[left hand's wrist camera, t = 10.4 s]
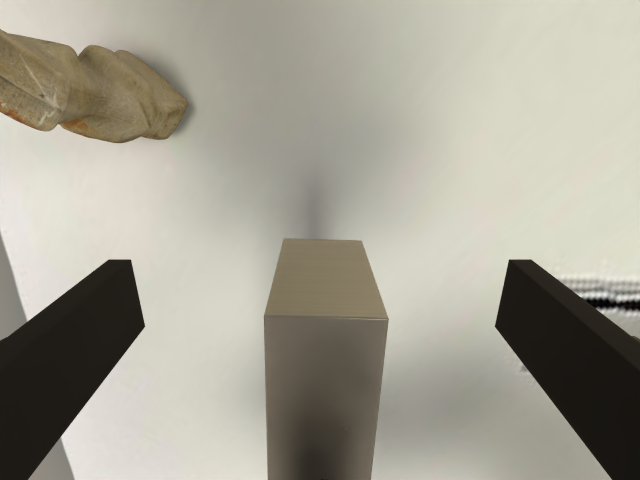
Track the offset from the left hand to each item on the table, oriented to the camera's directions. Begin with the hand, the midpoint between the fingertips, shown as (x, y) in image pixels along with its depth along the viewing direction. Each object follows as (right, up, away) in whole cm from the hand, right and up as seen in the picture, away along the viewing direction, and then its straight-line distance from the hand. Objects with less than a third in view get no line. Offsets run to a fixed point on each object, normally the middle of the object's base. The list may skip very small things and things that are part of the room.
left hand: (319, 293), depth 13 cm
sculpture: (-15, +14, +19) cm, 28 cm away
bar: (0, -10, +13) cm, 16 cm away
